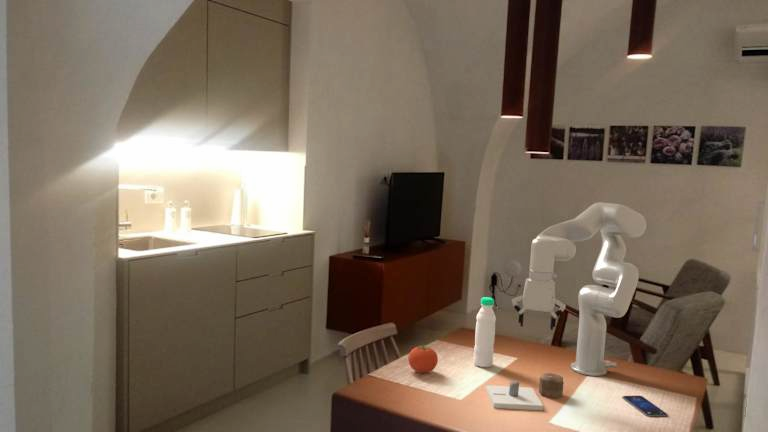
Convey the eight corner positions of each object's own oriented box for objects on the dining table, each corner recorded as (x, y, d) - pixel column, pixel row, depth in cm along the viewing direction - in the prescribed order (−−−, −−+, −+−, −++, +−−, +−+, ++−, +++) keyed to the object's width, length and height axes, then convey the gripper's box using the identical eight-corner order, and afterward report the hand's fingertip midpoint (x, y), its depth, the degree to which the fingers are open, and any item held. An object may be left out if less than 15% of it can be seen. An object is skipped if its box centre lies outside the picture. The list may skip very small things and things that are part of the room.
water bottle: (469, 362, 219) (474, 296, 216) (485, 360, 222) (489, 295, 219) (480, 369, 213) (485, 300, 210) (496, 367, 216) (501, 299, 213)
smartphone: (647, 415, 179) (620, 395, 193) (647, 418, 179) (620, 398, 193) (669, 414, 180) (641, 395, 194) (669, 417, 180) (641, 397, 195)
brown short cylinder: (558, 390, 196) (559, 373, 195) (564, 399, 189) (565, 381, 188) (537, 389, 196) (538, 372, 195) (542, 398, 189) (544, 380, 188)
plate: (531, 392, 193) (532, 375, 193) (542, 410, 179) (544, 392, 179) (485, 389, 193) (486, 373, 193) (493, 407, 179) (494, 390, 179)
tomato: (435, 367, 211) (437, 340, 210) (437, 378, 201) (439, 350, 200) (407, 366, 211) (408, 339, 210) (407, 376, 201) (409, 348, 200)
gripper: (567, 276, 195) (562, 327, 197) (514, 271, 199) (510, 321, 201) (569, 281, 188) (564, 333, 190) (513, 275, 192) (509, 326, 194)
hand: (536, 327), depth 195 cm, fingers open, 9 cm apart
